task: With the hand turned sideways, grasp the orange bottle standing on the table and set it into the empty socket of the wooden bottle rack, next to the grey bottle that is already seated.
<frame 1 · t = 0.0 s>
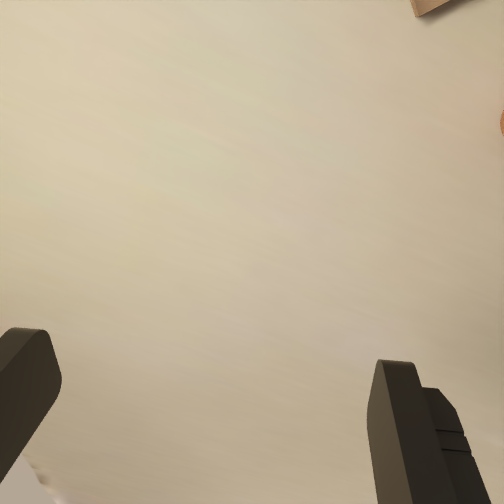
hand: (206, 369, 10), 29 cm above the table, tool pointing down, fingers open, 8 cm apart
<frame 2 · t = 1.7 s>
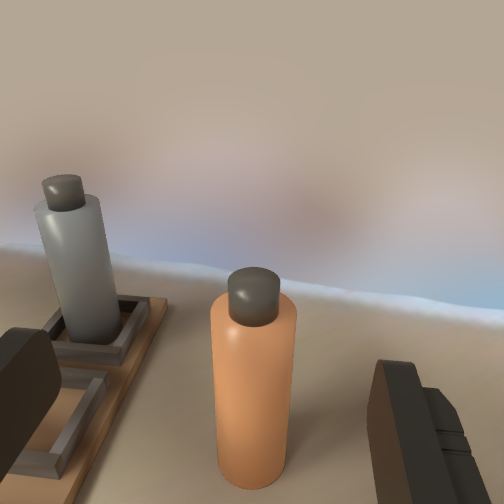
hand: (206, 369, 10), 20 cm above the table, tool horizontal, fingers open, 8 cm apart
grey bottle: (96, 331, 39), point 1 cm above the table, touching wooden bottle rack
orange bottle: (251, 456, 29), on the table
wooden bottle rack: (73, 381, 35), on the table
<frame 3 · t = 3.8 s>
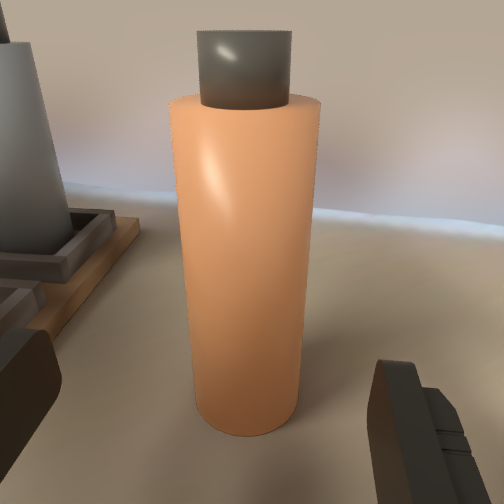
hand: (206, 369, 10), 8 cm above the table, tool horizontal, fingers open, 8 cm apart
grey bottle: (40, 249, 29), point 1 cm above the table, touching wooden bottle rack
orange bottle: (246, 391, 19), on the table
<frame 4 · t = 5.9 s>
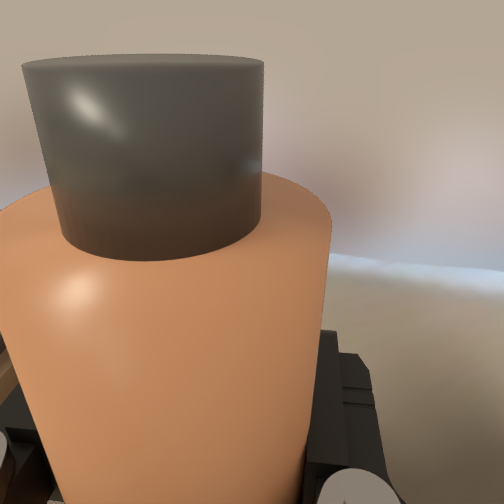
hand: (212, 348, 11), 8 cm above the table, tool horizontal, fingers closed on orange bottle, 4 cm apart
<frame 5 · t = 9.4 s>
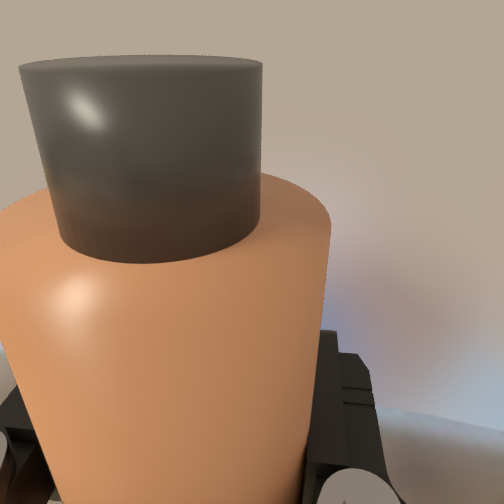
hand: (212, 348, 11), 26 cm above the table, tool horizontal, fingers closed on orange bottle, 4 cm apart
when the fingers open (10 cm above the table, at t = 12.7 s): orange bottle stays where it is, resting on wooden bottle rack.
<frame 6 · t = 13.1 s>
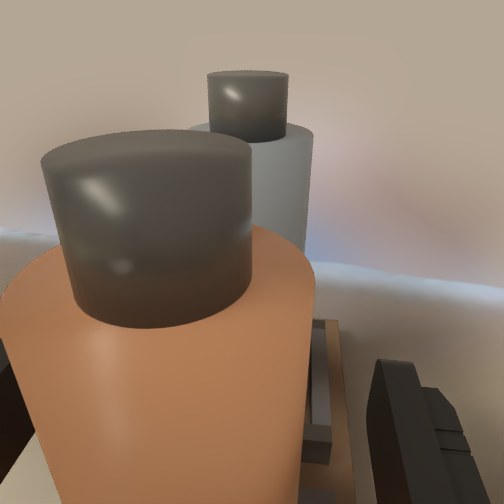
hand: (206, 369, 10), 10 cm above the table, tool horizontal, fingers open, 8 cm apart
grey bottle: (248, 384, 22), point 1 cm above the table, touching wooden bottle rack
wooden bottle rack: (233, 493, 18), on the table
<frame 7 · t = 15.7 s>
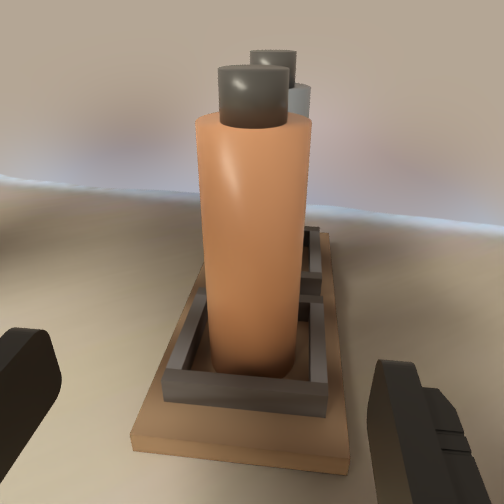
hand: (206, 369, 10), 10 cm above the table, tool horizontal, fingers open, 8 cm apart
grey bottle: (267, 263, 32), point 1 cm above the table, touching wooden bottle rack
orange bottle: (252, 353, 24), point 1 cm above the table, touching wooden bottle rack
wooden bottle rack: (260, 315, 29), on the table
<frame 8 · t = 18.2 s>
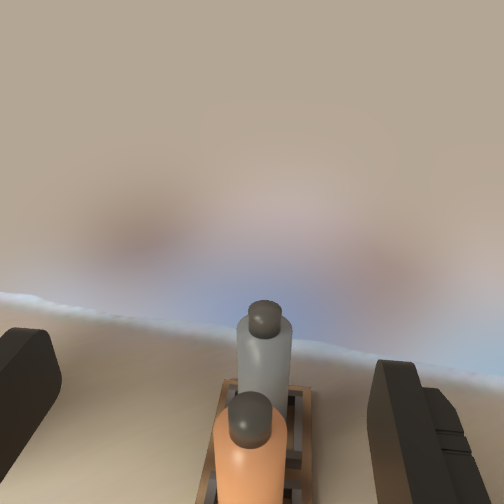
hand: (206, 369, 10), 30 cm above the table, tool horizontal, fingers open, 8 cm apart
grey bottle: (262, 428, 42), point 1 cm above the table, touching wooden bottle rack
wooden bottle rack: (256, 482, 38), on the table
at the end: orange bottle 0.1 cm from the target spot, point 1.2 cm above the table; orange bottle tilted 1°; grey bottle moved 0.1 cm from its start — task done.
